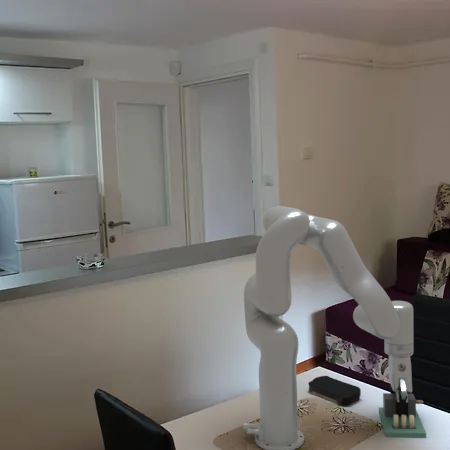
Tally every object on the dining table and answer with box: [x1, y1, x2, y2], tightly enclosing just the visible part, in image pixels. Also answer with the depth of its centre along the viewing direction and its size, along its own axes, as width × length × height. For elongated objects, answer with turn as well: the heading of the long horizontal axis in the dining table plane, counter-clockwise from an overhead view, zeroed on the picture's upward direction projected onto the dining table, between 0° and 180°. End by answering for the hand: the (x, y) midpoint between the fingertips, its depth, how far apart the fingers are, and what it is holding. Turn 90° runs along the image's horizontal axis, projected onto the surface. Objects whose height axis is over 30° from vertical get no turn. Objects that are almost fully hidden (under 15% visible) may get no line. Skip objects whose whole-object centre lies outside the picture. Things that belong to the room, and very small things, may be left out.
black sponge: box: [307, 375, 362, 407], centre depth 180 cm, size 16×8×4 cm, turn 37°
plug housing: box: [382, 392, 424, 418], centre depth 163 cm, size 10×4×5 cm, turn 82°
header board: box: [378, 406, 427, 439], centre depth 160 cm, size 10×15×4 cm, turn 172°
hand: (399, 407), depth 163 cm, fingers open, 9 cm apart
